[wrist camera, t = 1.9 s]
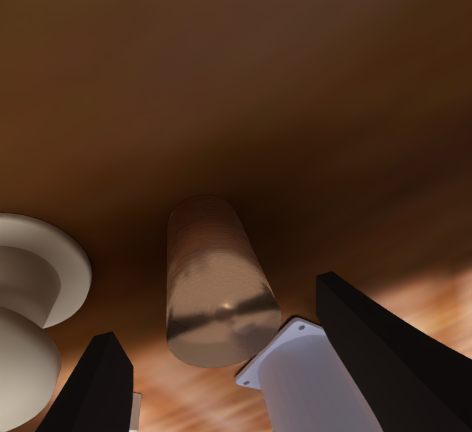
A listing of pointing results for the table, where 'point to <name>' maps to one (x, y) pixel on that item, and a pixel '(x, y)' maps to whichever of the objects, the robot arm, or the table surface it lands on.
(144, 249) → the table surface
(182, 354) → the copper peg
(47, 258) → the bobbin
